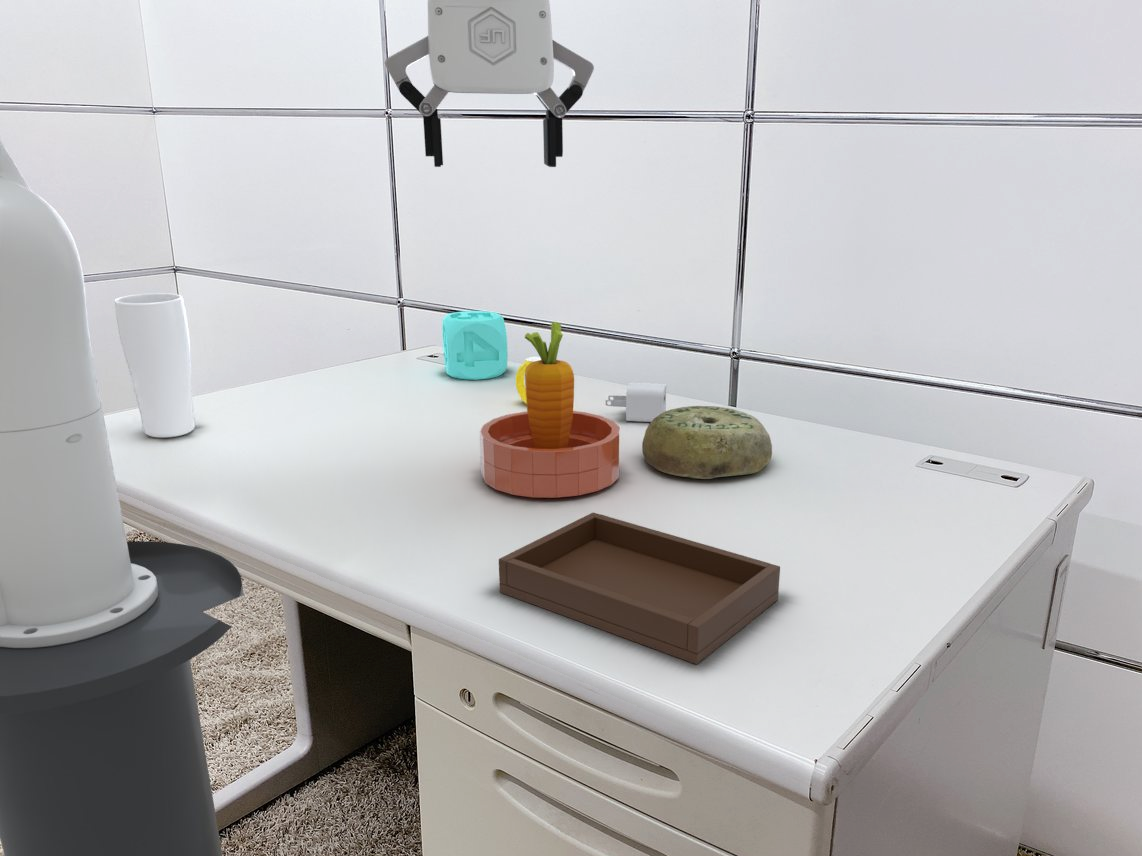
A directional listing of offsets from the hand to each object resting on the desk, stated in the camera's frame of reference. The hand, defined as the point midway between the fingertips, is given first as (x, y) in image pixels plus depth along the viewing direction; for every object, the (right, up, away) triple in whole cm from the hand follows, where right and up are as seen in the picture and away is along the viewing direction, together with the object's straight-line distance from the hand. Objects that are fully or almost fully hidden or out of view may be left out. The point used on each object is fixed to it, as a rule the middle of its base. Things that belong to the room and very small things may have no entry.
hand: (494, 166), depth 85 cm
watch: (0, -18, +37) cm, 41 cm away
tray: (+13, -36, -11) cm, 40 cm away
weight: (+20, -26, +18) cm, 37 cm away
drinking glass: (-40, -22, +25) cm, 52 cm away
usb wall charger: (+12, -20, +33) cm, 40 cm away
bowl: (+4, -27, +13) cm, 30 cm away
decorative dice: (-10, -13, +52) cm, 55 cm away
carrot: (+4, -27, +13) cm, 30 cm away
